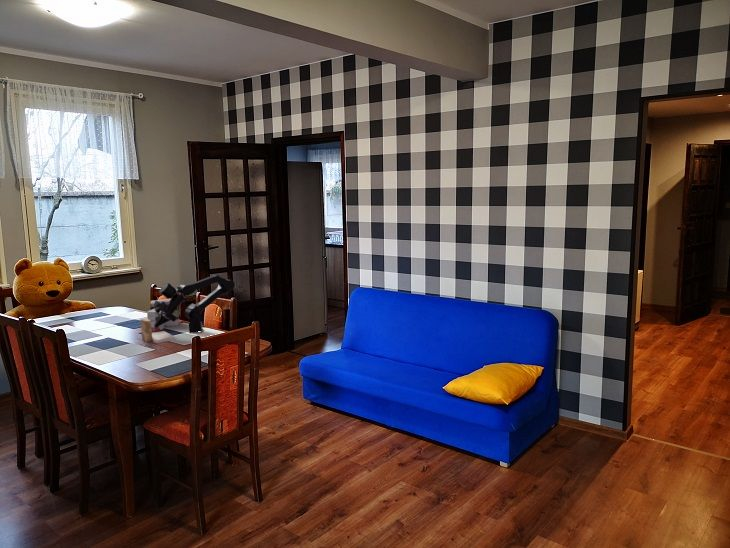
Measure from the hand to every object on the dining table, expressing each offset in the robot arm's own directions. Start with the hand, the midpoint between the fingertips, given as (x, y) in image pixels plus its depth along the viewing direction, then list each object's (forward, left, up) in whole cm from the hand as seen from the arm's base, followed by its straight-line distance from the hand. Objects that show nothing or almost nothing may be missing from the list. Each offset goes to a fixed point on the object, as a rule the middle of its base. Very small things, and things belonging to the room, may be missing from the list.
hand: (154, 326), depth 295 cm
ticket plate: (-2, -1, -7) cm, 7 cm away
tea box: (+4, -32, -7) cm, 33 cm away
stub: (+4, +3, -7) cm, 8 cm away
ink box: (+6, -19, -7) cm, 21 cm away
